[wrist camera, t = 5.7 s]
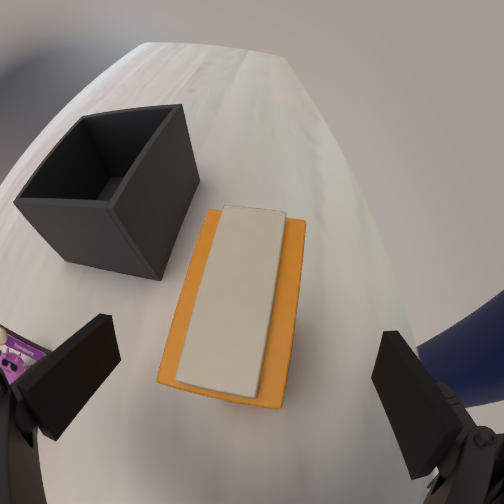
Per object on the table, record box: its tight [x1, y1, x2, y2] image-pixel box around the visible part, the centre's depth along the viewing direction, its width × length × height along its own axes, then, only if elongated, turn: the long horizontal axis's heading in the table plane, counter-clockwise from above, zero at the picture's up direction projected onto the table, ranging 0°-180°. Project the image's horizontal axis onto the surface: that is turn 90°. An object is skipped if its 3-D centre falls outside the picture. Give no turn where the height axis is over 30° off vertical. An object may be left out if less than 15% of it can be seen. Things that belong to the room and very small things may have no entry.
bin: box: [13, 104, 200, 281], centre depth 23 cm, size 12×12×10 cm
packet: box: [157, 205, 306, 409], centre depth 14 cm, size 4×7×13 cm, turn 170°
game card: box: [0, 325, 52, 431], centre depth 15 cm, size 7×5×9 cm
